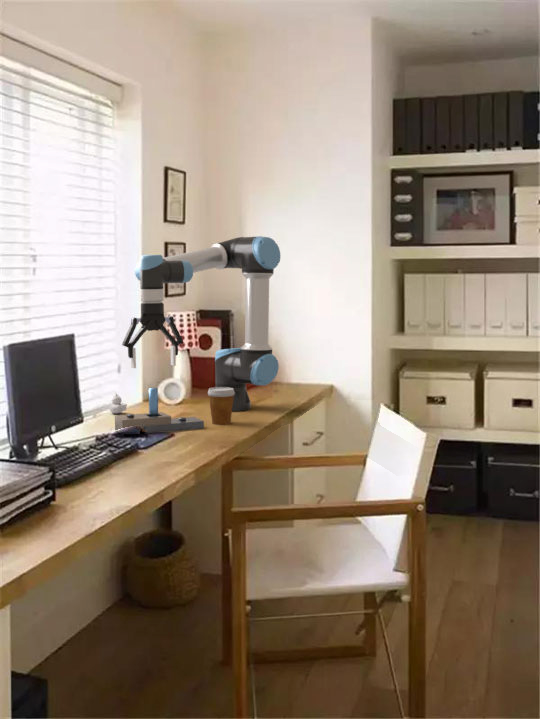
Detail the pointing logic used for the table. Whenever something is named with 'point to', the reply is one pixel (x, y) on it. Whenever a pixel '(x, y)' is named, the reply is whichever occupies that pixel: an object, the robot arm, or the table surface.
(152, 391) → the pin
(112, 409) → the rubber duck
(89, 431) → the table surface
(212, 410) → the disposable coffee cup
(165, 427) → the grey fixture block
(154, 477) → the table surface
